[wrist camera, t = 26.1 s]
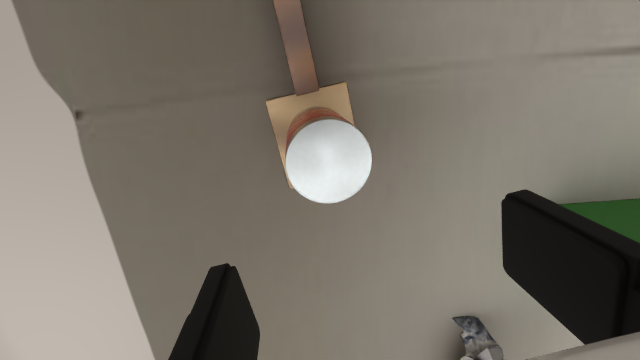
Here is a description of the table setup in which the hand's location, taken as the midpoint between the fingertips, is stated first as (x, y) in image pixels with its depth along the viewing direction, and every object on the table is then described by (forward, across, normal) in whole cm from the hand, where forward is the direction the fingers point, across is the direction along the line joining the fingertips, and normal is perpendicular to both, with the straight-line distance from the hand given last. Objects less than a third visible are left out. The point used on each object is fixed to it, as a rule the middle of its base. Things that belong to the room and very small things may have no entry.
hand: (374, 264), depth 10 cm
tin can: (+24, 0, 0) cm, 24 cm away
